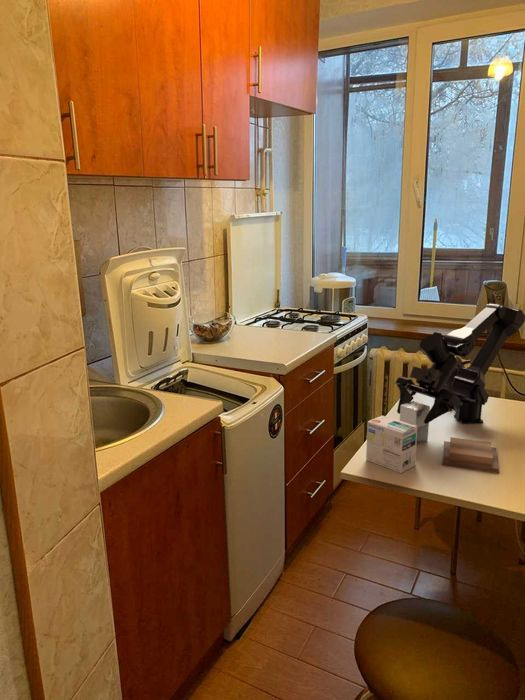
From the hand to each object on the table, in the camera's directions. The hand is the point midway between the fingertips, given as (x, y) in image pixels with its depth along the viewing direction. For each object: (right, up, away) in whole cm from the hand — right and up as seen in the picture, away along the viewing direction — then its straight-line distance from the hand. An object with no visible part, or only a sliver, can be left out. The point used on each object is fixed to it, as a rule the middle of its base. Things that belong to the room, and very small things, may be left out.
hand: (411, 417), depth 147 cm
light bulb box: (-8, -10, -11) cm, 17 cm away
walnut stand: (+12, -9, -9) cm, 18 cm away
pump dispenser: (+23, +2, +34) cm, 41 cm away
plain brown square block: (+1, -6, +2) cm, 7 cm away
